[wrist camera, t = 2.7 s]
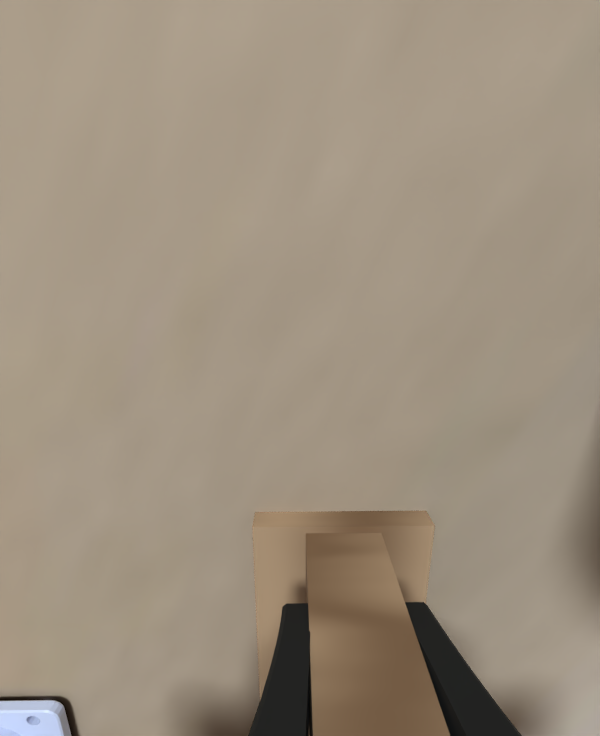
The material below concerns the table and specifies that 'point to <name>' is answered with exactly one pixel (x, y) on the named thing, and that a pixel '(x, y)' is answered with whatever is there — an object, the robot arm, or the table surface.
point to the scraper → (351, 615)
